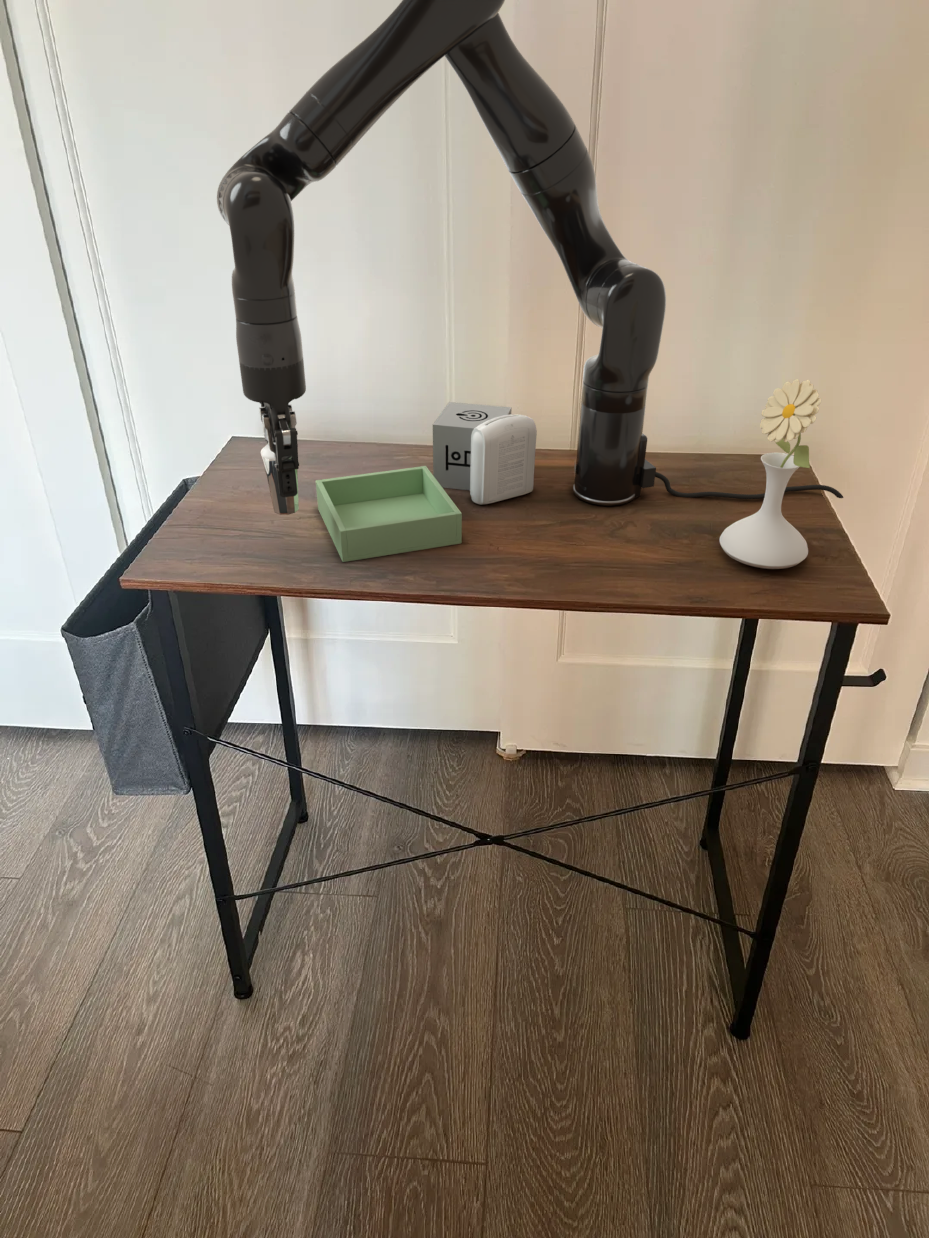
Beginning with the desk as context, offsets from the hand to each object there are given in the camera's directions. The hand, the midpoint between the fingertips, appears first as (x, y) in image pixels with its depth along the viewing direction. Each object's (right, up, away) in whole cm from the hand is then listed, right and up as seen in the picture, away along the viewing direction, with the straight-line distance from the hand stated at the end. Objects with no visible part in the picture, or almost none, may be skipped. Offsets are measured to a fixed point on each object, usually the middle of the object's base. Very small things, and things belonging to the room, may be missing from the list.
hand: (285, 487), depth 116 cm
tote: (+12, -4, +11) cm, 17 cm away
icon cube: (+24, +5, +26) cm, 36 cm away
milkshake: (0, -3, +2) cm, 3 cm away
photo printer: (+29, +1, +20) cm, 35 cm away
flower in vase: (+63, -9, +4) cm, 64 cm away
